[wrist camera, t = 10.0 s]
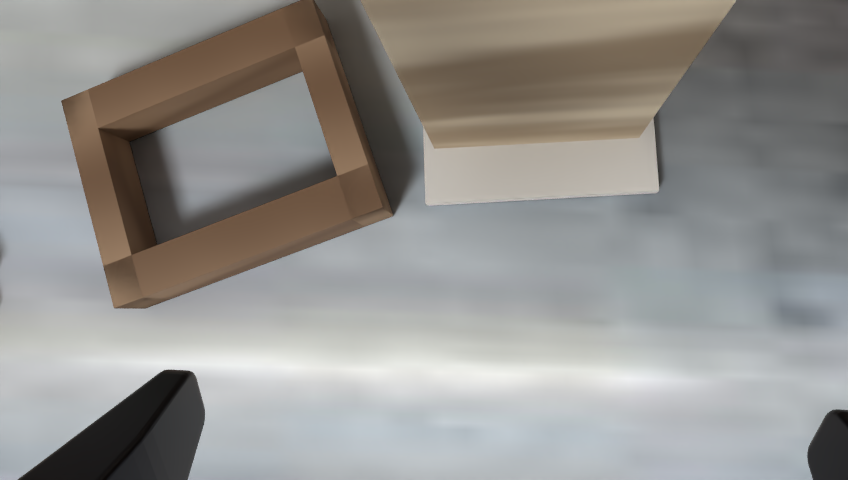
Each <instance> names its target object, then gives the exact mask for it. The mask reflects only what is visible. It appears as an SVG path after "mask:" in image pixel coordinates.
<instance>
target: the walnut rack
mask: <svg viewBox="0 0 848 480" xmlns="http://www.w3.org/2000/svg"><path fill="white" fill-rule="evenodd" d="M302 71H303V73H304V76H305V79H306V82H307V85H308V88H309V92H310V95H311V98H312V101H313V104H314V107H315V110H316V113H317V116H318V119H319V122H320V125H321V128H322V131H323V134H324V137H325V140H326V143H327V146H328V149H329V152H330V155H331V158H332V161H333V164H334V167H335V170H336V174H337V176H336V177H333V178H331V179H328V180H325V181H323V182H320V183H318V184H315V185H312V186H310V187H307V188H305V189H302V190H299V191H297V192H294V193H292V194H289V195H286V196H284V197H281V198H279V199H276V200H273V201H271V202H268V203H266V204H263V205H260V206H258V207H255V208H253V209H250V210H247V211H245V212H242V213H240V214H237V215H234V216H232V217H229V218H227V219H224V220H221V221H219V222H216V223H214V224H211V225H208V226H206V227H203V228H201V229H198V230H195V231H193V232H190V233H188V234H185V235H182V236H180V237H177V238H175V239H172V240H169V241H167V242H164V243H162V244H159V245H157V243H156V239H155V235H154V232H153V228H152V224H151V221H150V217H149V213H148V210H147V206H146V202H145V199H144V195H143V191H142V187H141V184H140V180H139V176H138V173H137V169H136V165H135V162H134V158H133V154H132V151H131V147H130V143H129V142H130V141H132V140H135V139H137V138H140V137H142V136H144V135H147V134H149V133H152V132H154V131H157V130H159V129H162V128H164V127H167V126H169V125H172V124H174V123H176V122H179V121H181V120H184V119H186V118H189V117H191V116H194V115H196V114H199V113H201V112H204V111H206V110H209V109H211V108H213V107H216V106H218V105H221V104H223V103H226V102H228V101H231V100H233V99H236V98H238V97H241V96H243V95H245V94H248V93H250V92H253V91H255V90H258V89H260V88H263V87H265V86H268V85H270V84H273V83H275V82H277V81H280V80H282V79H285V78H287V77H290V76H292V75H295V74H297V73H300V72H302ZM61 102H62V106H63V110H64V113H65V117H66V121H67V125H68V129H69V133H70V137H71V141H72V145H73V149H74V153H75V157H76V161H77V165H78V168H79V172H80V176H81V180H82V184H83V188H84V192H85V196H86V200H87V204H88V208H89V212H90V216H91V219H92V223H93V227H94V231H95V235H96V239H97V243H98V247H99V251H100V255H101V259H102V263H103V267H104V271H105V274H106V278H107V282H108V286H109V290H110V294H111V298H112V302H113V306H114V308H148V307H151V306H153V305H156V304H159V303H161V302H164V301H167V300H169V299H172V298H175V297H177V296H180V295H183V294H185V293H188V292H191V291H193V290H196V289H199V288H201V287H204V286H207V285H209V284H212V283H215V282H218V281H220V280H223V279H226V278H228V277H231V276H234V275H236V274H239V273H242V272H244V271H247V270H250V269H252V268H255V267H258V266H260V265H263V264H266V263H268V262H271V261H274V260H276V259H279V258H282V257H285V256H287V255H290V254H293V253H295V252H298V251H301V250H303V249H306V248H309V247H311V246H314V245H317V244H319V243H322V242H325V241H327V240H330V239H333V238H335V237H338V236H341V235H343V234H346V233H349V232H351V231H354V230H357V229H360V228H362V227H365V226H368V225H370V224H373V223H376V222H378V221H381V220H384V219H386V218H389V217H392V216H393V213H392V210H391V207H390V204H389V201H388V198H387V195H386V192H385V190H384V187H383V184H382V181H381V178H380V175H379V172H378V169H377V166H376V163H375V160H374V157H373V154H372V151H371V149H370V146H369V143H368V140H367V137H366V134H365V131H364V128H363V125H362V122H361V119H360V116H359V113H358V111H357V108H356V105H355V102H354V99H353V96H352V93H351V90H350V87H349V84H348V81H347V78H346V75H345V72H344V70H343V67H342V64H341V61H340V58H339V55H338V52H337V49H336V46H335V43H334V40H333V37H332V34H331V32H330V29H329V26H328V23H327V20H326V18H325V17H324V15H323V14H322V12H321V11H320V9H319V8H318V6H317V5H316V3H315V1H314V0H300V1H298V2H296V3H293V4H291V5H288V6H286V7H284V8H281V9H279V10H276V11H274V12H272V13H269V14H267V15H265V16H262V17H260V18H257V19H255V20H253V21H250V22H248V23H245V24H243V25H241V26H238V27H236V28H234V29H231V30H229V31H226V32H224V33H222V34H219V35H217V36H214V37H212V38H210V39H207V40H205V41H203V42H200V43H198V44H195V45H193V46H191V47H188V48H186V49H183V50H181V51H179V52H176V53H174V54H172V55H169V56H167V57H164V58H162V59H160V60H157V61H155V62H152V63H150V64H148V65H145V66H143V67H141V68H138V69H136V70H133V71H131V72H129V73H126V74H124V75H121V76H119V77H117V78H114V79H112V80H110V81H107V82H105V83H102V84H100V85H98V86H95V87H93V88H90V89H88V90H86V91H83V92H81V93H79V94H76V95H74V96H71V97H69V98H67V99H64V100H62V101H61Z"/></svg>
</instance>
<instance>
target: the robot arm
mask: <svg viewBox="0 0 848 480" xmlns="http://www.w3.org/2000/svg"><path fill="white" fill-rule="evenodd" d="M204 420H205V409H204V404H203V401H202V397H201V393H200V390H199V386H198V382H197V379H196V376H195V375H194V373H193V372H191V371H185V370H164V371H162V372H160V373H159V374H158V375H156V376H155V377H154V378H152V379H151V380H150V381H148V382H147V383H146V384H144V385H143V386H142V387H140V388H139V389H138V390H136V391H135V392H134V393H132V394H131V395H130V396H128V397H127V398H126V399H124V400H123V401H122V402H120V403H119V404H118V405H116V406H115V407H114V408H112V409H111V410H110V411H108V412H107V413H106V414H104V415H103V416H102V417H100V418H99V419H98V420H96V421H95V422H94V423H92V424H91V425H90V426H88V427H87V428H86V429H84V430H83V431H82V432H80V433H79V434H78V435H76V436H75V437H74V438H72V439H71V440H70V441H68V442H67V443H66V444H65V445H63V446H62V447H61V448H59V449H58V450H57V451H55V452H54V453H53V454H51V455H50V456H49V457H47V458H46V459H45V460H43V461H42V462H41V463H39V464H38V465H37V466H35V467H34V468H33V469H31V470H30V471H29V472H27V473H26V474H25V475H23V476H22V477H21V478H19V479H18V480H188V477H189V473H190V470H191V466H192V463H193V460H194V456H195V453H196V449H197V446H198V443H199V439H200V436H201V432H202V429H203V425H204ZM808 464H809V468H810V471H811V474H812V478H813V480H848V410H837V409H836V410H832V411H830V412H829V413H827V415H826V416H825V418H824V420H823V421H822V423H821V425H820V427H819V429H818V430H817V432H816V434H815V436H814V438H813V440H812V441H811V443H810V445H809V448H808Z"/></svg>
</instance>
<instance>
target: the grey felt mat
mask: <svg viewBox="0 0 848 480" xmlns="http://www.w3.org/2000/svg"><path fill="white" fill-rule="evenodd" d="M423 135H424V169H425V203H426V205H427V206H432V205H450V204H468V203H486V202H504V201H522V200H540V199H558V198H576V197H595V196H613V195H631V194H649V193H657V192H658V191H659V181H658V168H657V155H656V142H655V129H654V117H653V119H652V120H651V122H650V123H649V124H648V126H647V127H646V129H645V130H644V131H643V133H642V134H641V136H640V137H639V138H627V139H608V140H590V141H571V142H552V143H533V144H514V145H495V146H476V147H458V148H439V149H434V147H433V145H432V143H431V141H430V139H429V137H428V135H427V133H426V131H425V129H424V127H423Z"/></svg>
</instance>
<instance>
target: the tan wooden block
mask: <svg viewBox="0 0 848 480" xmlns="http://www.w3.org/2000/svg"><path fill="white" fill-rule="evenodd" d="M361 2H362V4H363V6H364V8H365V10H366V12H367V14H368V16H369V18H370V20H371V22H372V24H373V26H374V28H375V30H376V32H377V34H378V36H379V38H380V40H381V42H382V44H383V46H384V48H385V50H386V52H387V54H388V56H389V58H390V61H391V63H392V65H393V67H394V69H395V71H396V73H397V75H398V77H399V79H400V81H401V83H402V85H403V87H404V89H405V91H406V93H407V95H408V97H409V99H410V101H411V103H412V105H413V107H414V109H415V111H416V113H417V115H418V117H419V119H420V121H421V123H422V125H423V127H424V129H425V131H426V133H427V135H428V137H429V139H430V141H431V143H432V145H433V147H434V149H439V148H458V147H476V146H495V145H514V144H533V143H552V142H571V141H590V140H608V139H627V138H639V137H640V136H641V134H642V133H643V131H644V130H645V129H646V127H647V126H648V124H649V123H650V122H651V120H652V119H653V117H654V116H655V115H656V113H657V112H658V110H659V109H660V107H661V106H662V105H663V103H664V102H665V100H666V99H667V98H668V96H669V95H670V93H671V92H672V91H673V89H674V88H675V86H676V85H677V84H678V82H679V81H680V79H681V78H682V76H683V75H684V74H685V72H686V71H687V69H688V68H689V67H690V65H691V64H692V62H693V61H694V60H695V58H696V57H697V55H698V54H699V52H700V51H701V50H702V48H703V47H704V45H705V44H706V43H707V41H708V40H709V38H710V37H711V36H712V34H713V33H714V31H715V30H716V28H717V27H718V26H719V24H720V23H721V21H722V20H723V19H724V17H725V16H726V14H727V13H728V12H729V10H730V9H731V7H732V6H733V4H734V3H735V2H736V0H361Z"/></svg>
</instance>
